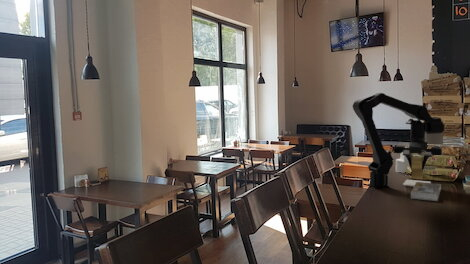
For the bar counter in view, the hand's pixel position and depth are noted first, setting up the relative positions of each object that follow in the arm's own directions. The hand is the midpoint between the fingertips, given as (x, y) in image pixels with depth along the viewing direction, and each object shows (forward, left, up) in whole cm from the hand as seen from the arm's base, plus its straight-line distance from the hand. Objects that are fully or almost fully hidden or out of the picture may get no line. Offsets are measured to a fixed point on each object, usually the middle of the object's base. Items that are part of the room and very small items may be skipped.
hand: (417, 169), depth 162 cm
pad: (0, 0, -6) cm, 7 cm away
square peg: (0, 0, -4) cm, 4 cm away
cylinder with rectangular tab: (+13, +24, -7) cm, 28 cm away
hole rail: (-7, -15, -6) cm, 18 cm away
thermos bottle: (+21, +14, -7) cm, 26 cm away
